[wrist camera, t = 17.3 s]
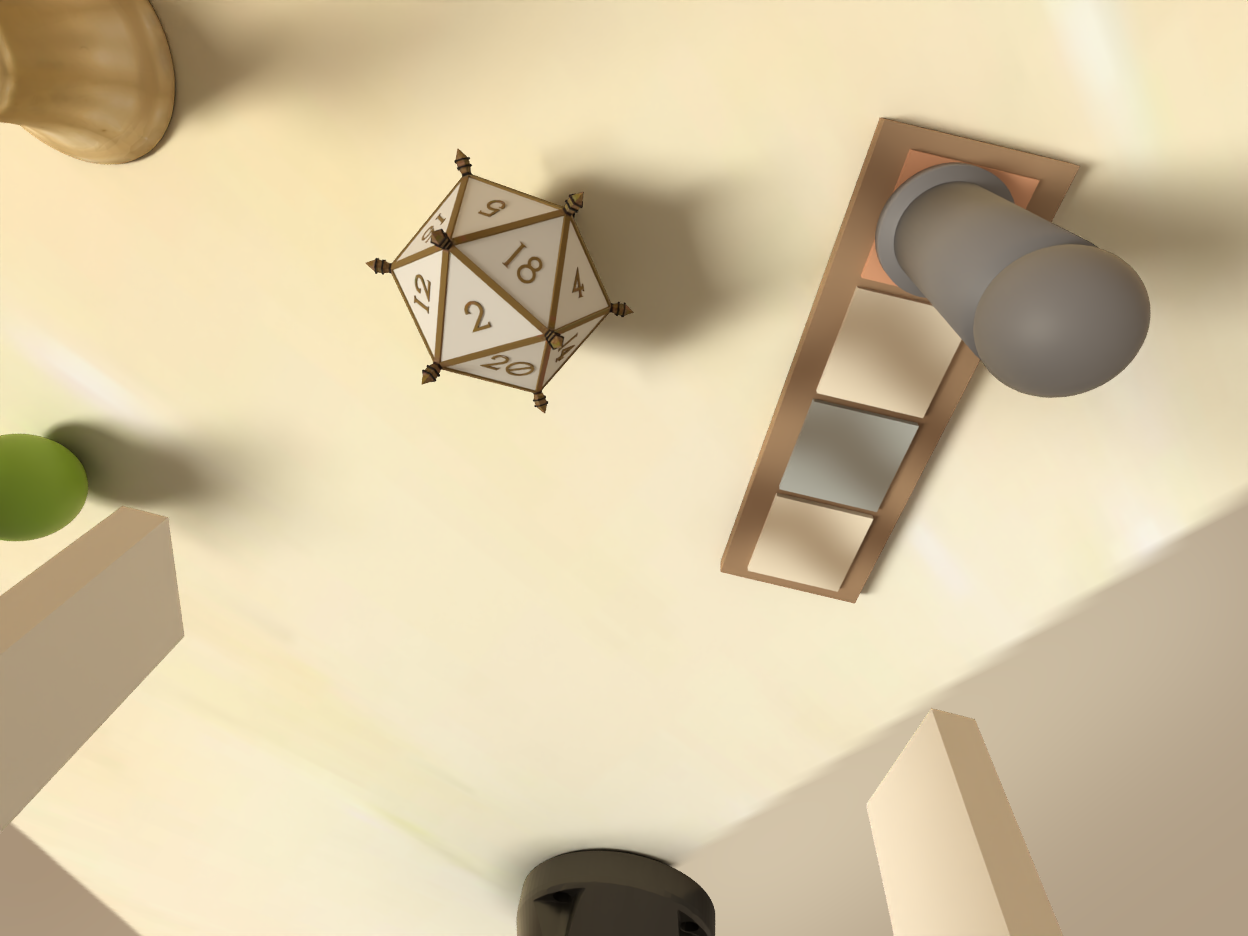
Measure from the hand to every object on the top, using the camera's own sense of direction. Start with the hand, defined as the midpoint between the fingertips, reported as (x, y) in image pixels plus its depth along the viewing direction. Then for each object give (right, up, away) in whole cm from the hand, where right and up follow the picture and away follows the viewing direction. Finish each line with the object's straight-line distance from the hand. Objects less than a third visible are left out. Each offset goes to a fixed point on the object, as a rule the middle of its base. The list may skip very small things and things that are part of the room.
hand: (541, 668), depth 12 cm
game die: (-3, +12, +17) cm, 21 cm away
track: (+12, +6, +18) cm, 23 cm away
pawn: (+13, +12, +13) cm, 22 cm away
